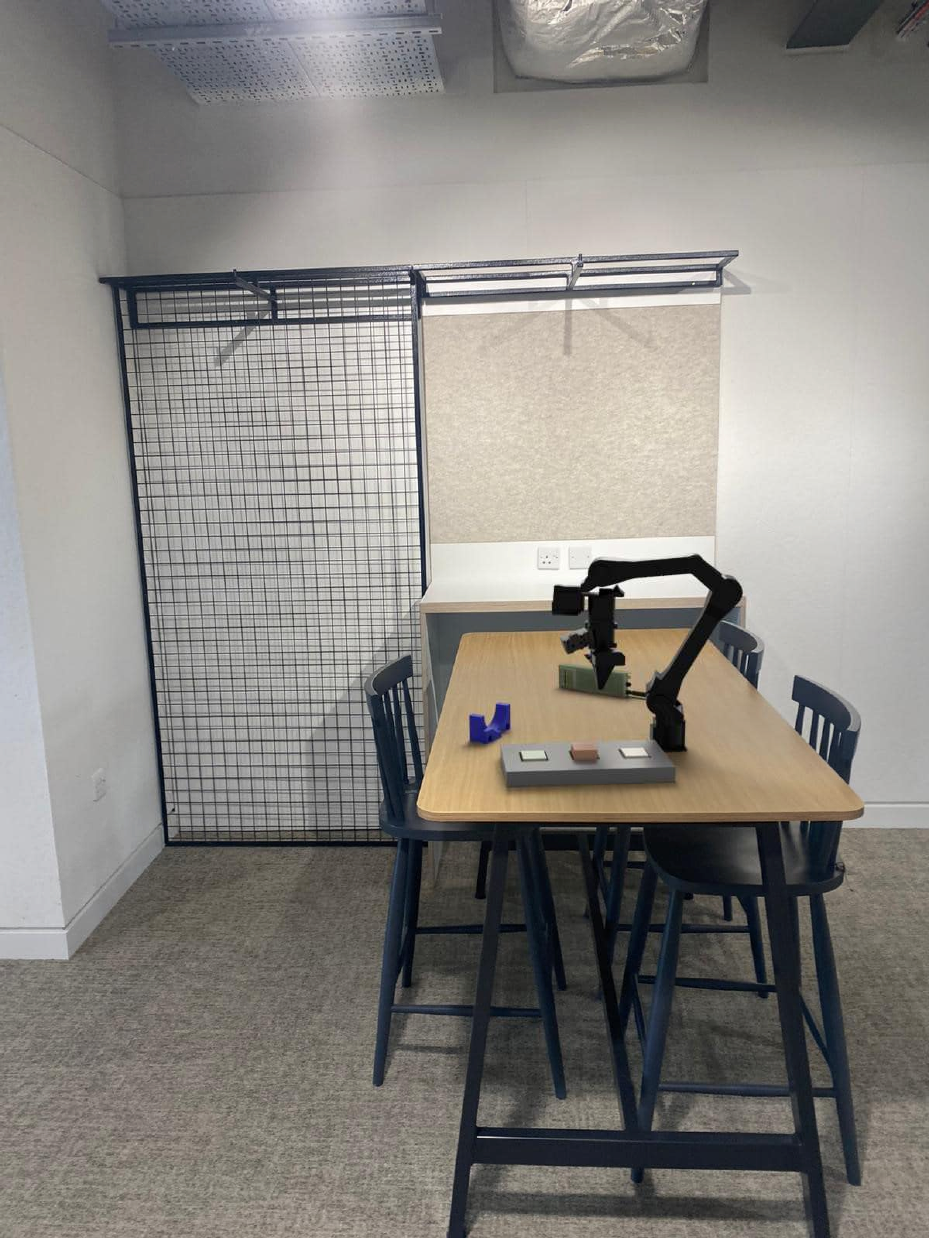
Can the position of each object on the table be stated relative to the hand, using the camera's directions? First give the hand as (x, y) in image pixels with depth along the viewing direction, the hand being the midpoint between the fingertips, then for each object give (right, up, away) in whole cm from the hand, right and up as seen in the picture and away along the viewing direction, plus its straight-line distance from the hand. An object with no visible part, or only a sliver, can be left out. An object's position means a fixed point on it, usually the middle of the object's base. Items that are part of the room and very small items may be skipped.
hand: (600, 689), depth 184 cm
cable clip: (-22, -11, +10) cm, 27 cm away
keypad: (-5, -15, -13) cm, 20 cm away
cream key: (+5, -13, -13) cm, 19 cm away
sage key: (-15, -14, -14) cm, 25 cm away
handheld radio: (+7, -5, +43) cm, 44 cm away
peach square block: (-5, -12, -14) cm, 19 cm away
